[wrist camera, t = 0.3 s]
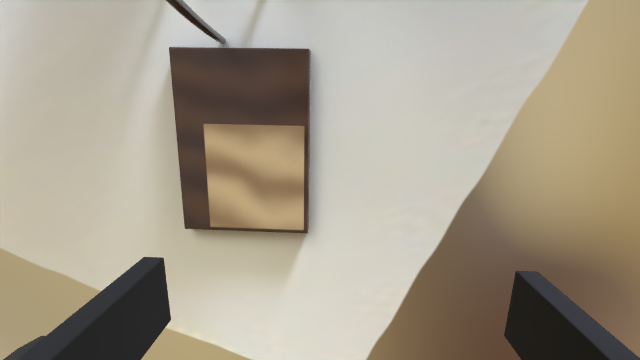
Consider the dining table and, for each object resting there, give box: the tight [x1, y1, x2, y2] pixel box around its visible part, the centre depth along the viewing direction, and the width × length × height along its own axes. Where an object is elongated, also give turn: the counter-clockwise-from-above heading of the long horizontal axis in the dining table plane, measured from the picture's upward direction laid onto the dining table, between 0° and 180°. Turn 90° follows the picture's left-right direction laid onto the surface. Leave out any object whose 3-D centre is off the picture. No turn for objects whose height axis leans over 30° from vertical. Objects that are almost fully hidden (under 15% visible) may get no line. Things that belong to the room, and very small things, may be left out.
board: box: [169, 47, 311, 233], centre depth 38 cm, size 22×16×2 cm
